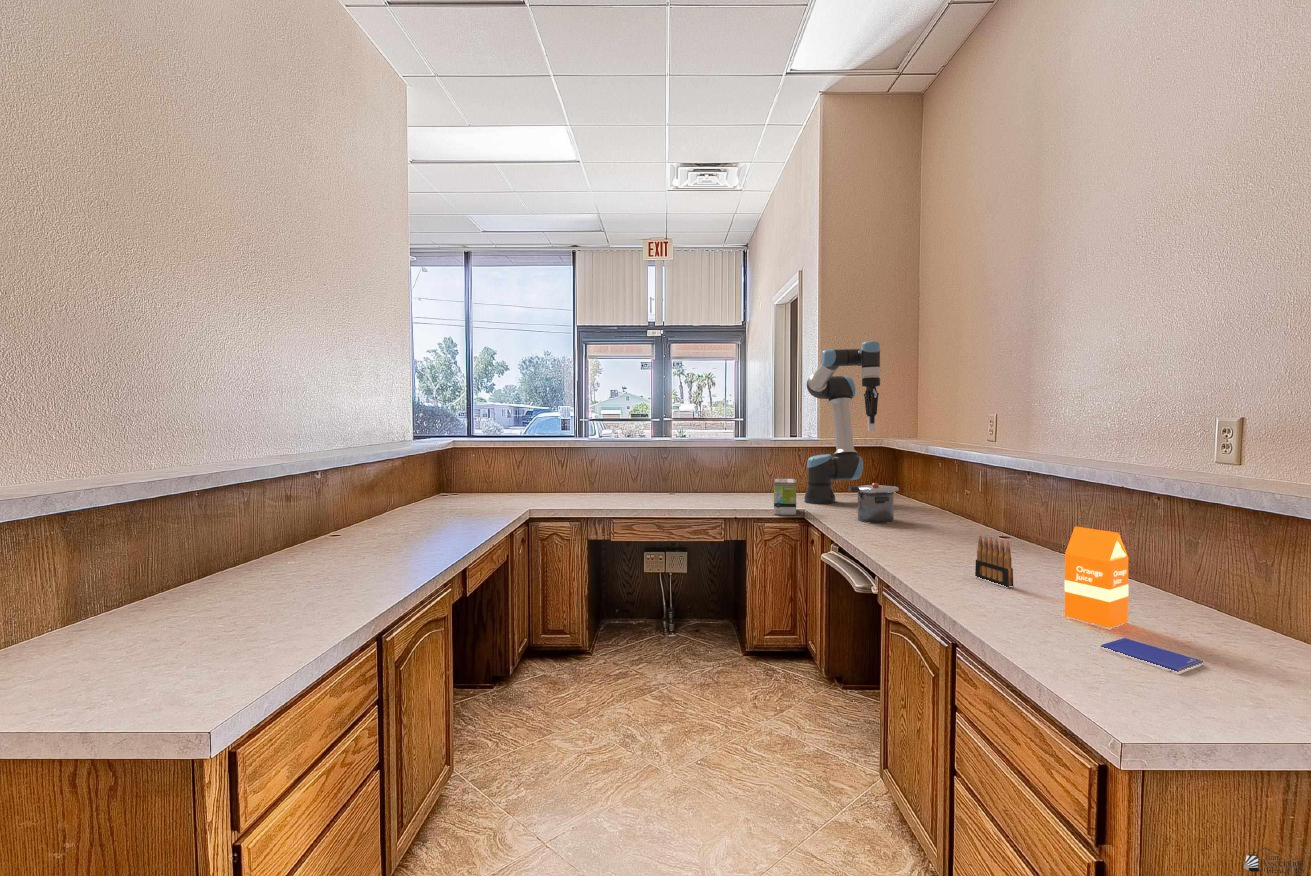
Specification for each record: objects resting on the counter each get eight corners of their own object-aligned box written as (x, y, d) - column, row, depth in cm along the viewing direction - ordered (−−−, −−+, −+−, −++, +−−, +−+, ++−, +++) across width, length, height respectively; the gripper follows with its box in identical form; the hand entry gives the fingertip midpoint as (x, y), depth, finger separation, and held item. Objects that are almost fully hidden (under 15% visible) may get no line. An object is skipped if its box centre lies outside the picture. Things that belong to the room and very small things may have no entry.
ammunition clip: (974, 577, 164) (974, 534, 164) (980, 577, 165) (980, 533, 164) (1008, 588, 154) (1008, 542, 154) (1013, 587, 155) (1013, 541, 154)
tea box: (797, 515, 266) (796, 481, 265) (773, 514, 268) (773, 481, 267) (795, 509, 280) (795, 478, 280) (774, 509, 282) (773, 478, 282)
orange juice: (1083, 611, 136) (1083, 524, 135) (1128, 623, 128) (1129, 530, 127) (1063, 618, 132) (1064, 528, 131) (1109, 630, 124) (1110, 535, 124)
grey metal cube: (852, 516, 259) (852, 488, 258) (885, 515, 258) (885, 488, 257) (865, 524, 241) (864, 494, 240) (900, 523, 240) (900, 494, 240)
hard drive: (1203, 659, 107) (1125, 636, 119) (1178, 668, 104) (1100, 644, 115) (1203, 668, 107) (1125, 644, 119) (1177, 677, 104) (1100, 652, 115)
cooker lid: (845, 489, 257) (844, 481, 257) (890, 488, 256) (890, 480, 256) (855, 494, 242) (854, 486, 242) (903, 493, 241) (903, 485, 241)
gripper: (884, 376, 256) (885, 431, 257) (874, 377, 269) (875, 430, 270) (866, 376, 256) (867, 431, 257) (857, 378, 269) (858, 430, 270)
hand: (871, 431), depth 263 cm, fingers closed
